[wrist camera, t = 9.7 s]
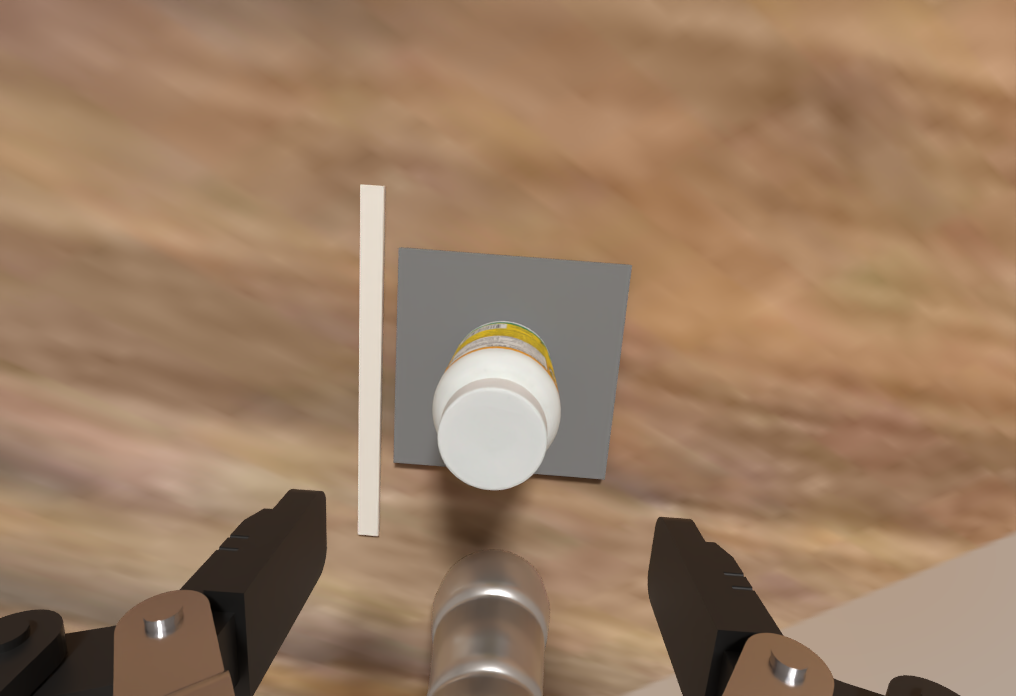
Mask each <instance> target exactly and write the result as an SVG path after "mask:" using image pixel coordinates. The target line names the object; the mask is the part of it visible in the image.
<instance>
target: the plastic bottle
mask: <svg viewBox="0 0 1016 696" xmlns="http://www.w3.org/2000/svg"><path fill="white" fill-rule="evenodd" d="M549 619H550V604H549V600H548V596H547V593H546V590H545V587H544V584H543V581H542V578H541V577H540V575H539V573H538V572H537V570H536V569H535V568H534V567H533V566H532V565H531V564H530V563H529V562H528V561H526V560H525V559H523V558H522V557H520V556H518V555H515V554H513V553H511V552H508V551H504V550H496V549H490V550H483V551H479V552H476V553H473V554H470V555H468V556H466V557H464V558H462V559H461V560H459V561H458V562H457V563H455V564H454V565H453V566H452V567H451V568H450V570H449V571H448V572H447V574H446V575H445V577H444V579H443V581H442V583H441V585H440V587H439V589H438V591H437V593H436V596H435V599H434V602H433V612H432V643H433V648H432V658H431V667H430V677H429V686H428V692H427V696H543V677H544V652H545V647H546V642H547V637H548V630H549Z"/></svg>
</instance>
